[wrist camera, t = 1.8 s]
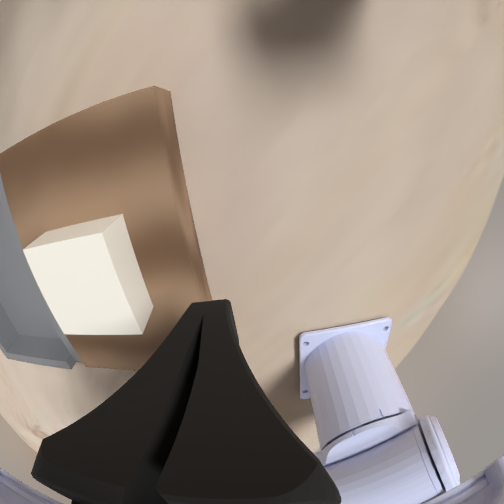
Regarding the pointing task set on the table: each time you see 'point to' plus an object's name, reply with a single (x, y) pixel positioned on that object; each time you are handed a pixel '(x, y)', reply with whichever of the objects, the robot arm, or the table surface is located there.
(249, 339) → the table surface
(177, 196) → the board
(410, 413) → the robot arm
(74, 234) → the block
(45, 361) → the box
